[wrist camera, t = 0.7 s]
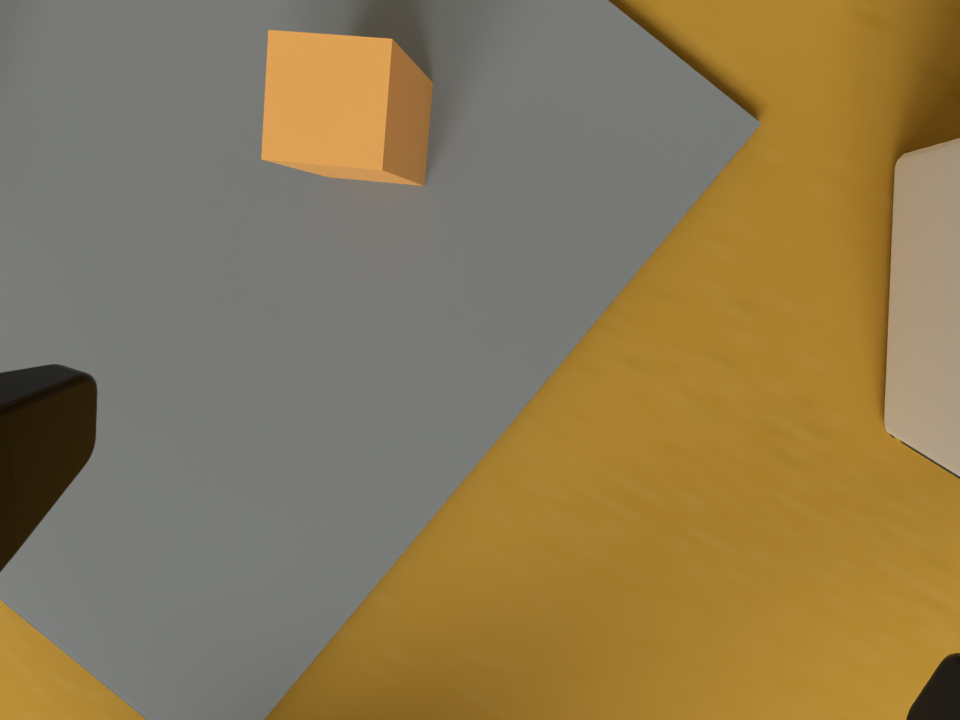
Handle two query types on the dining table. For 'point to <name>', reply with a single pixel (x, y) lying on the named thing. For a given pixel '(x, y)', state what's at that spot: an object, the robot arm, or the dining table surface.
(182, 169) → the mat
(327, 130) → the orange block
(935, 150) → the medicine bottle
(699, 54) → the dining table surface
